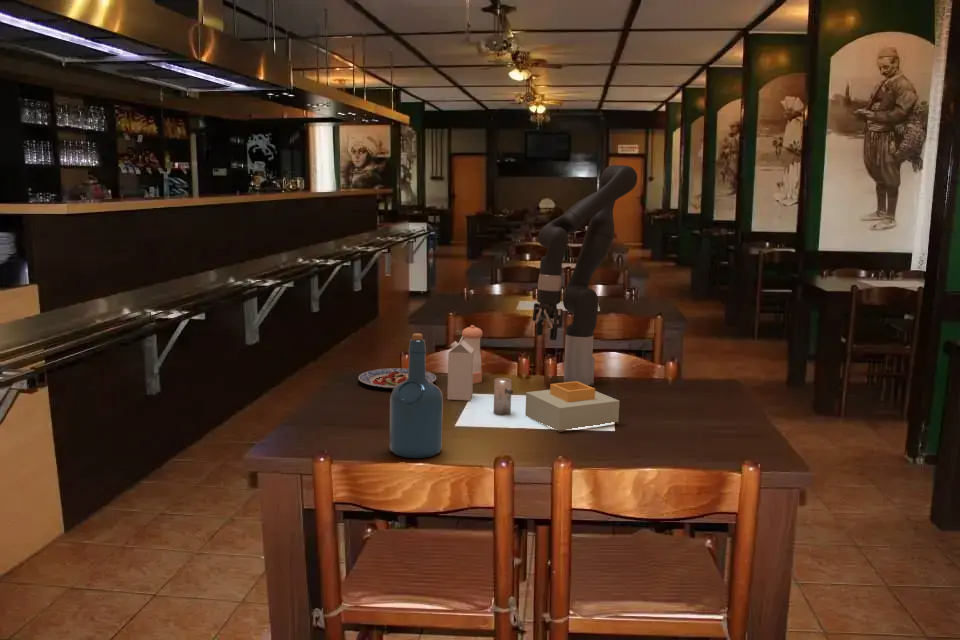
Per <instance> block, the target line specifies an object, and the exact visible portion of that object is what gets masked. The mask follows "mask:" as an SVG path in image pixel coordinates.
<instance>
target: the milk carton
mask: <svg viewBox="0 0 960 640" xmlns="http://www.w3.org/2000/svg"><path fill="white" fill-rule="evenodd" d="M450 347H451V348H450V350H449V352H448V353H447V354H448V359H447V362H448V363H447V400H450V401H451V400H453V401H471V399H472V397H473V387H474V385H473V384H474V383H473V355H474V349H473V348H472V347H471V346H470V345H468V344H467V343H466V342H465V341H464V337H463V336H462V335H461V338H460V339H459V341H458V342H457V341H456V340H455V341H454V342H452V343H451V344H450Z"/></svg>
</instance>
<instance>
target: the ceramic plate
mask: <svg viewBox="0 0 960 640" xmlns="http://www.w3.org/2000/svg"><path fill="white" fill-rule="evenodd" d="M401 368H402V367H399V368H398V367H397V368H396V367H395V368H394V367H393V368H392V367H391V368H378V369H373V370H368V371H365V372H362V373H361V374H359V376H358V381H360V382H361V383H363V384H365V385H368V386H374V387H376V386H377V388H380V387H382V388H381V389H386V388H391V389H390V390H393V389H394V388H395V387H396V386H397V385H398V384H399V383H402V382H404V381H406V380H407V378H408V369H409V368H407V367H406V368H402V369H401ZM379 377H382V378H380V379H376V378H379ZM375 379H376V380H375ZM426 379H427V380H428V381H429V382H431V383H434V382H436V381H437V376H436V374H434V373H431V372H429V371H426Z"/></svg>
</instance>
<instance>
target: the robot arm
mask: <svg viewBox="0 0 960 640" xmlns="http://www.w3.org/2000/svg"><path fill="white" fill-rule="evenodd" d="M598 183H599V184H598V188H597V191H595V192H593V193H591V194H590V195H589V194H588V195H587V196H586V197H584V198H583V199H581V200H578V201H577V202H576V203H574V204H573V205H572V206H571V207H569V209H567V210H566V211H565V212H564V213H563V214H561V215H560V216H559V217H558V216H557V218H555V219H553V220H551V221H550V222H548V223H547V224H545V225H544V226H542V228H541V229H540V230H539V232H538V236H537V240H538V243H539V244H540V245H541V246H542V247H544V248H547V252H546V255H544V256H542V257H541V258H540V262H539V265H540V266H539V276H538V281H537V282H538V283H537V296H536V301H537V302H534V305H533V310H532V311H533V313H532V321H533V322H534V323H535V324H536V325H535V327H536V328H535V335H536V336H543V333H544V322H545V321H547V323H548V324H549V326H550V328H549V329H550V330H549V340H550V341H556V340H557V337H558V329H559V328H562V327H563V314H564V313H563V309H562V308H557V307H558V306H557V305H558V304H560V303H561V293H562V271H563V261H564V258H565V254H566V251H567V248H568V245H569V236H568V235H569V234H573V233H576V232H577V231H578V230H580V229H581V228H583V226H585V224H587V223H588V222H589V223H588V226H587V227H586V228H587V229H586V231H585V234H584V237H583V238H584V239H583V241H582V244H581V248H580V251H579V253H578V257H577V260H576V263H575V266H574V269H573V272H572V274H571V276H570V278H569V281H568V283H567V286H566V288H565V290H564V294H563V296H562V304H563V307H564V309H565V310H566V311H567V312H569V313H572V314H573V316H572V317H573V318H572V322H571V323H569V324H567V325H566V327H565V339H564V340H565V343H564V344H565V345H564V360H563V361H564V363H563V364H564V365H563V383H565V382H575V381H578V382H580V383H583V384H585V385H590V384H591V383H593V384H594V380H595V379H594V377H595V363H596V362H595V361H596V360H595V357H594V356H593V351H594V349H593V348H594V333H595V329H596V327H597V321H598V312H599V297H598V294H597V293H596V291H595V290H593V289H591V288H589V286H590V283H591V279H592V277H593V275H594V273H595V271H596V270H597V269H598V268H599V266H601V264H602V263H603V261H604V260H605V259H606V258H607V256H608V255H609V252H610V250H611V248H612V243H613V240H614V238H615V221H614V207H615V204H616V201H617V200H618V199H620V198H622V197H624V196H625V195H627V194H629V193H630V192H631V191H633V189H635V187H636V185H637V183H638V173H637V172H636V170H635V168H633V167H632V166H630V165H624V164H623V165H622V164H621V165H620V164H614V165H609V166H607V167H606V168H605V169H604V170H603V171H602V174H601V176H600V179H599V182H598Z"/></svg>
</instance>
